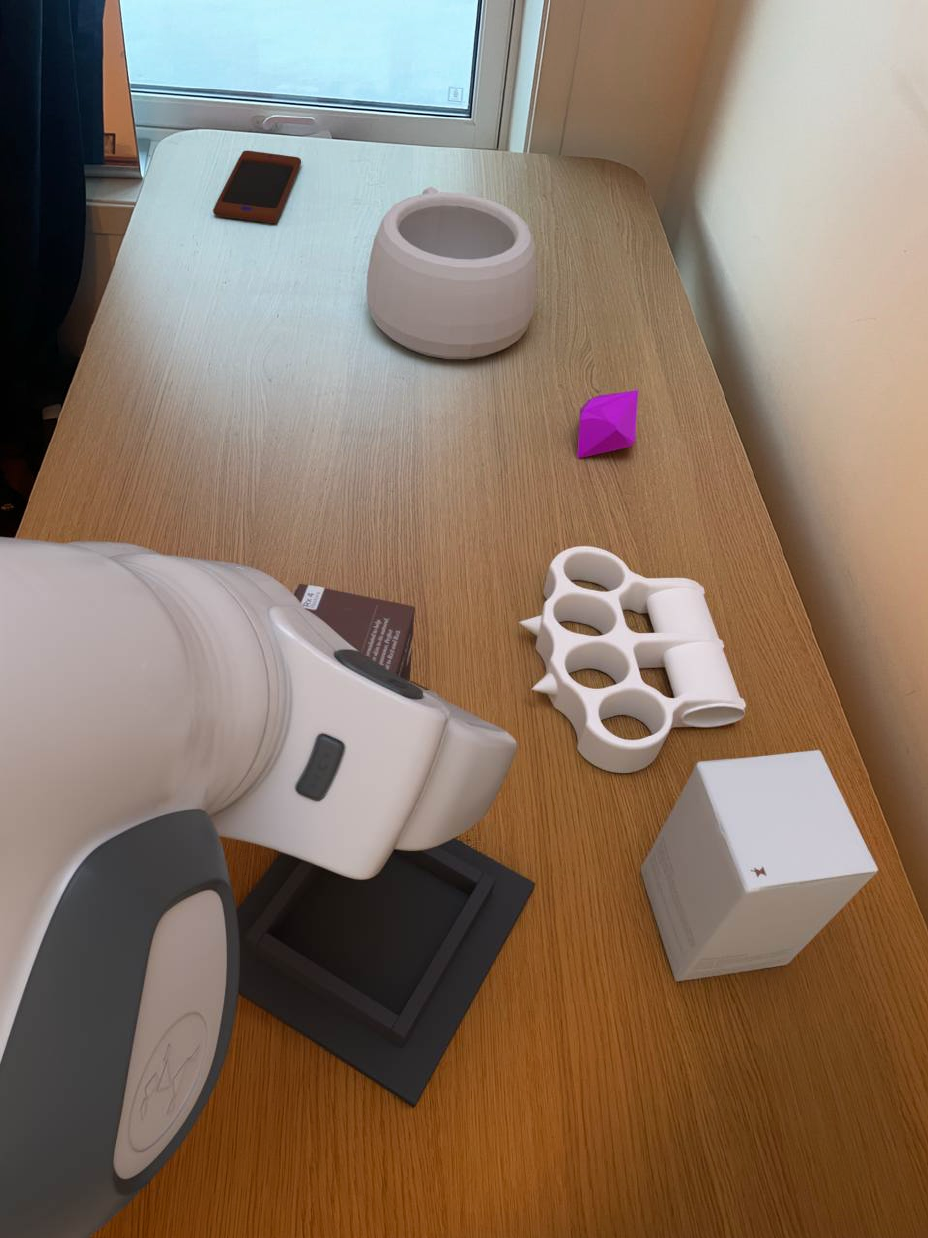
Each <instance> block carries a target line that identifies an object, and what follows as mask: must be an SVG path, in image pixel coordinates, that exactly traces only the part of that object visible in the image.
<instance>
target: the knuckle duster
mask: <svg viewBox="0 0 928 1238" xmlns="http://www.w3.org/2000/svg"><path fill="white" fill-rule="evenodd" d="M572 581H581V582H587V583H591V584H596V585H598V586H601V587H603V588H605V589H606V591H600V590H594V589H589V588H584V587H582V586H578V585H577V584H575V583H574V582H572ZM543 586H544V588H543V591H542V594H543V596H544V598H545V601H544V603H543V606H542V610H541V614H540V615H537V616H534V617H530V618H528V619H524V620H520V621H517V623H518V624H520V625H521V626H522V627H524V628H525V629H526V630H528V631H529V632H531V633H532V634H533V635H535V636H536V640H535V650H536V652H537V653H538V654H539V655H540V657H541V658H542V660H543V663H544V666H545V674H544V677H542V678H541V679H540V680H539V681H538V682H537V683H536V684H535V685H534V686H533V687H532V688H531V689H530V690H531V691H535V692H539V693H543V694H547V696H548V698H549V700H550V702H551V704H552V706H553V708H554V709H555V710H557V711H559V712H560V713H561V714H563V716H564V717H566V719H568V720H569V722H570V723H571V725H572V727H573V729H574V731H575V733H576V740H577V745H576V750H577V752H578V753H579V754H580V755H581V756H582V757H583V758H584V759H585V760H586V761H587V762H588V763H589V764H591V765H592V766H595V767H596V768H599V769H601V770H603V771H606V772H610V773H614V774H615V773H616V774H631V773H635V772H638V771H641V770H644V769H645V768H647V767H648V766H649V765H651V764H652V763H653V762H654V761H655V759H656V758H657V757H658V755H659V753H660V751H661V749H662V748H663V746H664V744H665V742H666V739H667V738H668V736H669V733H670V732H671V729H673V728H691V727H695V728H717V727H722V726H726V725H731V724H733V723H737V722H739V721H741V720H742V719H744V718H745V716H746V714H747V713H746V710H745V709H746V707H747V703H746V702H745V699H744V698H742V697H741V696H740V693H739V691H738V688H737V685H736V682H735V680H734V677H733V673H732V672H731V671H732V670H731V668H730V665H729V662H728V659H727V657H726V654H725V651H724V648H725V644H724V641H723V639H721V638H719V634H718V632H717V629H716V625H715V623H714V621H713V618H712V615H711V612H710V610H709V607H708V604H707V602H706V598H705V593H706V591H705V589H704V586H702V585H701V584H700V583H699V582H698V581H696V580H693V579H690V578H686V577H650V578H647V577H644V576H643V575H640V574H637V573H636V572H634V571H632V570H630V569H629V566H628V565H627V564H626V563H625V562H624V560H622V559H621V558H620V557H619V556H617V555H615V554H614V553H612V552H610V551H608V550H606V549H602V548H600V547H595V546H590V545H589V546H588V545H580V546H579V545H578V546H573V547H570V548H567V549H565V550H562V551H561V552H559V553H558V554H557V555H556V556H555V557H554V558H553V559H552V561H551V562H550V564H549V567H548V570H547V575H546V579H545V583H544V585H543ZM625 610H626V611H627V610H628V611H632V612H634V613H637V614H648V616H649V620H650V623H651V625H652V629H653V632H641V633H639V632H635V631H633V630H631V629H630V628H629V627H628V626H627V623H626V618H625V616H624V611H625ZM562 622H573V623H578V624H583V625H587V626H590V627H592V628H593V629H596V630H597V631H598V632H599V633H600V635H587V634H583V633H577V632H573V631H571V630H569V629H566V628H565V627H563V626H562V624H560V623H562ZM656 668H659V669H660V668H664V669H665V671H666V675H667V678H668V681H669V685H670V688H671V691H672V694H673V697H668V696H666V695H664V694H663V693H661V692H660V691H659V690H657V689H656V688H654V687H652V686H651V685H649V684H646V683H645V682H644V681H643V679H642V676H641V672H640V669H656ZM586 669H587V670H588V669H590V670H596V671H599V672H603V673H604V674H606V675H607V676H609V677H610V678H611V679H612V680H613V681H614V682H615V684H613V685H609V686H606V687H602V688H591V687H587V686H584V685H582V684H580V683H578V682H577V681H576V680H575V679H573V678H572V677H571V676H570V673H574V672H577V671H581V670H586ZM615 716H627V717H631V718H634V719H636V720H638V721H639V722H641V723H642V724H643V725H645V726H646V727H647V729H648V730H649V732H650V734H651V735H648V736H645V737H643V738H639V739H625V738H623V737H619V736H617V735H615V734H614V733H612V732H611V731H610V730H608V729H607V728H606V727H605V725H604V724H603V723H602V721H604V720H606V719H609V718H612V717H615Z"/></svg>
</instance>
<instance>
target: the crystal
mask: <svg viewBox="0 0 928 1238" xmlns="http://www.w3.org/2000/svg"><path fill="white" fill-rule="evenodd" d="M638 400H639V389H638V390H637V389H635V390H629V391H628V390H627V391H621V392H614V393H607V394H600V395H597V396H595V397H592V398H589V399H588V400H587V401H586V402H585V403H584V404H583V405H582V406H581V407H580V408H579V419H578V420H579V423H578V425H579V426H578V437H577V438H578V439H577V456H576V457H577V459H581V458H587V457H591V456H594V455H598V454H599V455H600V454H604V453H607V452H612V451H613V452H614V451H617V450H622V449H626V448H631V447H632V446H633V445H634V443H636V430H637V429H636V428H637V416H638V415H637V413H638V403H639V401H638Z"/></svg>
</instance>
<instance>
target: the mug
mask: <svg viewBox="0 0 928 1238" xmlns="http://www.w3.org/2000/svg"><path fill="white" fill-rule="evenodd" d="M370 251H371V252H370V257H369V263H368V268H367V277H366V298H367V304H368V308H369V313H370V315H371V318H372V319H373V321H374V322H375V324H376V326H377V327H378V328H379V329H380V330H382V331H383V332H384V333H385V334H386V335H387V337H389V338H390V339H392V340H393V341H394V342H396V343H398V344H399V345H401V346H403V347H405V348H407V349H408V350H410V351H413V352H416V353H418V354H422V355H424V356H427V357H433V358H439V359H444V360H471V359H477V358H483V357H486V356H489V355H493V354H495V353H497V352H500V351H502V350H504V349H507V348H509V347H510V346H511V345H513V344H514V343H516V342H517V341H520V339H521V337H522V336H523V335H524V333H525V332H526V331H527V329H528V328H529V325H530V323H531V320H532V318H533V316H534V315H533V314H534V309H535V304H536V293H537V282H538V281H537V279H538V277H537V276H538V269H537V265H538V264H537V254H536V253H537V252H536V246H535V242H534V239H533V236H532V233H531V230H530V227H529V226H528V224H527V223H526V222H525V221H524V220H523V218H522V217H521V215H518V214H517V213H516V212H514V211H513V210H512V209H510V208H509V207H507V206H505V205H503V204H501V203H498V202H496V201H494V200H492V199H488V198H484V197H481V196H478V195H472V194H466V193H459V192H444V191H443V192H440V191H438V189H437V188H435V187H432V186H430V187H427V188H425V189H424V190H423V191H422V193H421V194H417V195H415V196H410V197H407V198H405V199H403V200H401V201H399V202H397V203H395V204H394V205H393V206H392V207H390V208H389V210H387V212H386V213H385V215H384V216H383V218H382V219H381V222H380V223H379V226H378V229H377V231H376V233H375V236H374V239H373V243H372V246H371V250H370Z"/></svg>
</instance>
